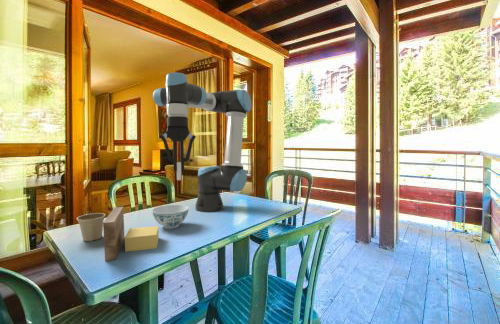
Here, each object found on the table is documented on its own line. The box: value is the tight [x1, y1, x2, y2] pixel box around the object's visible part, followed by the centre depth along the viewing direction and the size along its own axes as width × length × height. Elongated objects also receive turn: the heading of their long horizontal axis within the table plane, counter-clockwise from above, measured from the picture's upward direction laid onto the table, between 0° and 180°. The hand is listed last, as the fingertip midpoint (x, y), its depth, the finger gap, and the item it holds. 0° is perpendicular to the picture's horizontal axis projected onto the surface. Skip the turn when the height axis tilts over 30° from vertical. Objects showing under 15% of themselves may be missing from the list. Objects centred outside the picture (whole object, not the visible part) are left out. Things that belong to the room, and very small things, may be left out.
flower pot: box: [76, 212, 106, 242], centre depth 99 cm, size 9×9×9 cm
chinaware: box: [151, 204, 189, 230], centre depth 113 cm, size 15×15×8 cm
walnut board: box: [103, 206, 125, 262], centre depth 90 cm, size 3×20×12 cm, turn 18°
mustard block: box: [124, 225, 160, 253], centre depth 94 cm, size 10×10×5 cm
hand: (179, 179), depth 99 cm, fingers closed
